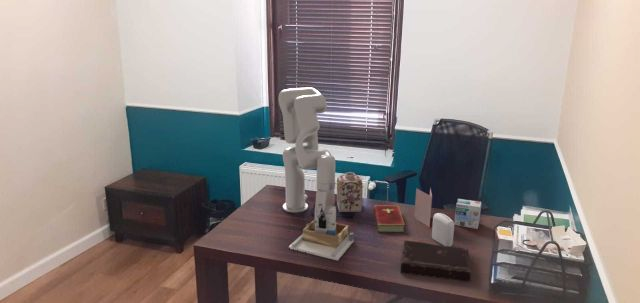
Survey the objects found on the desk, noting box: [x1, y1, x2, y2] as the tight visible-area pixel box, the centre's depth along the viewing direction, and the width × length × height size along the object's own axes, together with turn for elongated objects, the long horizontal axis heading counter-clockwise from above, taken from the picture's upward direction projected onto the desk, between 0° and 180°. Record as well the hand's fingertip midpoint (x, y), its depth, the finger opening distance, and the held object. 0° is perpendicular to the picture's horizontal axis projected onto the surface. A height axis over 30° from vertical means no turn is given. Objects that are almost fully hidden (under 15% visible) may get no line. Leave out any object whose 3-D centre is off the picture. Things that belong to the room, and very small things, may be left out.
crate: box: [302, 218, 350, 248], centre depth 192 cm, size 12×16×5 cm
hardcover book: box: [373, 204, 406, 233], centre depth 210 cm, size 12×21×4 cm, turn 178°
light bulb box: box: [453, 198, 482, 230], centre depth 207 cm, size 11×7×11 cm, turn 68°
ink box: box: [314, 205, 337, 236], centre depth 190 cm, size 9×5×12 cm, turn 78°
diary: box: [399, 239, 472, 282], centre depth 175 cm, size 19×25×5 cm
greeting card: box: [413, 187, 434, 228], centre depth 209 cm, size 11×7×15 cm, turn 170°
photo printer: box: [431, 212, 455, 247], centre depth 190 cm, size 10×4×12 cm, turn 26°
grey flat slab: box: [288, 222, 355, 261], centre depth 189 cm, size 17×22×4 cm
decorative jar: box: [336, 171, 364, 213], centre depth 224 cm, size 12×12×18 cm
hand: (325, 224), depth 191 cm, fingers closed on ink box, 5 cm apart
